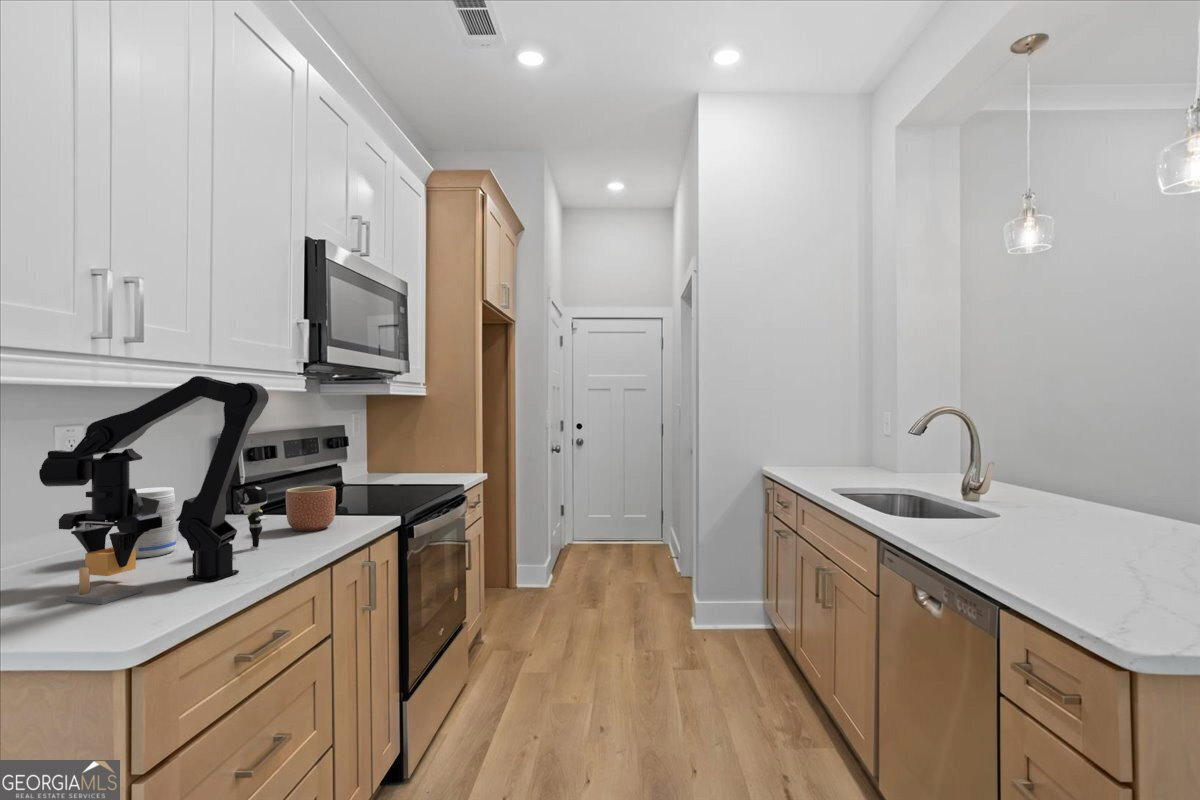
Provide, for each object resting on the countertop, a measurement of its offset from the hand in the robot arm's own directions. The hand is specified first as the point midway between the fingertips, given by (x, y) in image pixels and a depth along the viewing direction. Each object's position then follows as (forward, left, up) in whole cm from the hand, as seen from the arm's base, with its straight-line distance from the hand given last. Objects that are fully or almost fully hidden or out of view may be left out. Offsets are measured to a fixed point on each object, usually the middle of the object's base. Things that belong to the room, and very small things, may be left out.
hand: (111, 565), depth 118 cm
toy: (-6, -29, -3) cm, 29 cm away
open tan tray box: (0, 0, -1) cm, 1 cm away
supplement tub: (+14, -20, -3) cm, 24 cm away
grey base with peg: (-8, +7, -3) cm, 11 cm away
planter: (-3, -51, -3) cm, 52 cm away
